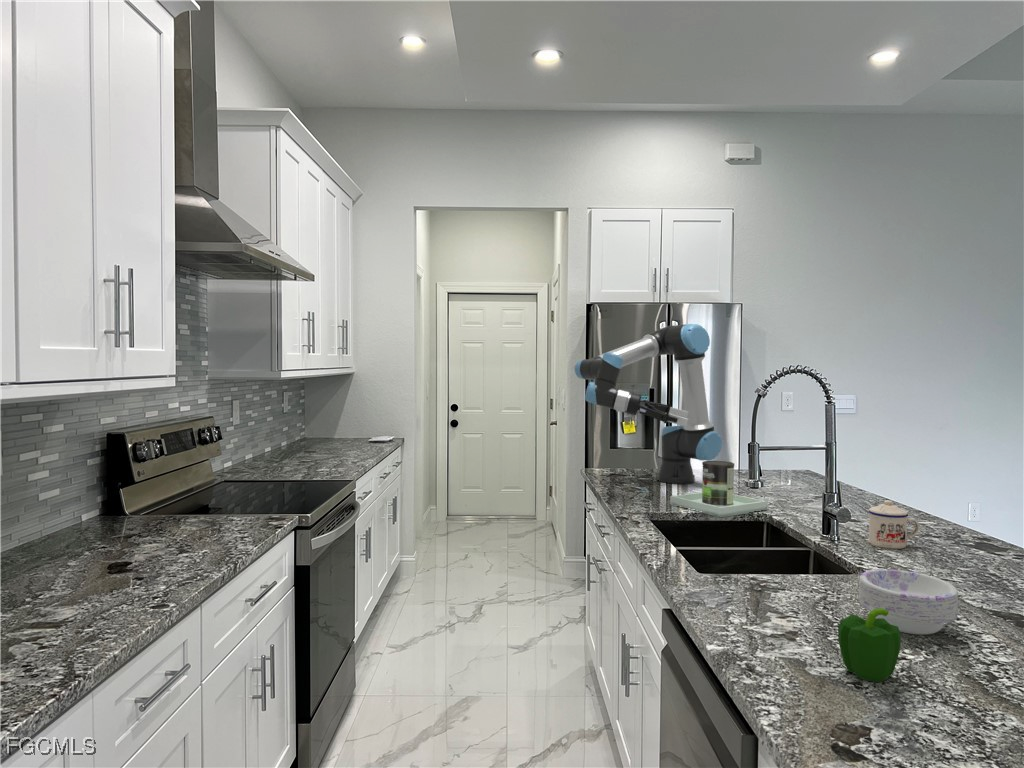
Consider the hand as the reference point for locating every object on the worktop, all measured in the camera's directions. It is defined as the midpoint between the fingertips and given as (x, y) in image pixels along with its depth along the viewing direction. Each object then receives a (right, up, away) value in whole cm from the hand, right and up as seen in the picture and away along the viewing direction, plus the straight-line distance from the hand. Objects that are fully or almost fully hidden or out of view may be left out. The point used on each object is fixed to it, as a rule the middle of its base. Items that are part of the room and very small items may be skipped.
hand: (687, 419), depth 228 cm
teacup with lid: (+39, -30, -57) cm, 75 cm away
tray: (+7, -29, -10) cm, 32 cm away
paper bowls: (+10, -31, -111) cm, 116 cm away
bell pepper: (-8, -32, -130) cm, 134 cm away
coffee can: (+7, -28, -10) cm, 31 cm away
